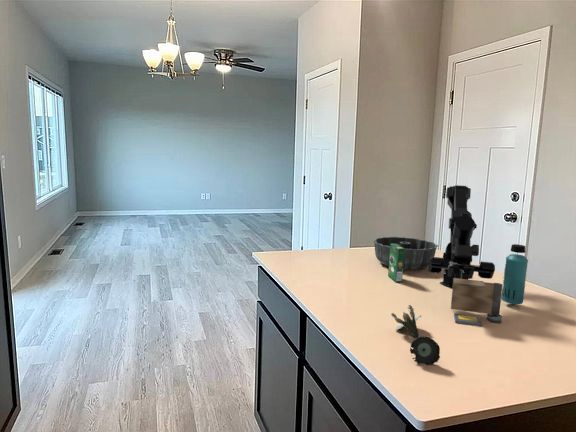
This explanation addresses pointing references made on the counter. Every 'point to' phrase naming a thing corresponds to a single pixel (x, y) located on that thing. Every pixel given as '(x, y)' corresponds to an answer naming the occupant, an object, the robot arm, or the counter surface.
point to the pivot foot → (494, 318)
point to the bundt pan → (406, 251)
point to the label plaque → (467, 319)
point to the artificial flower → (419, 340)
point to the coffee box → (396, 262)
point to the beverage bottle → (515, 276)
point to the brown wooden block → (476, 296)
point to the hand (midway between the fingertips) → (460, 291)
